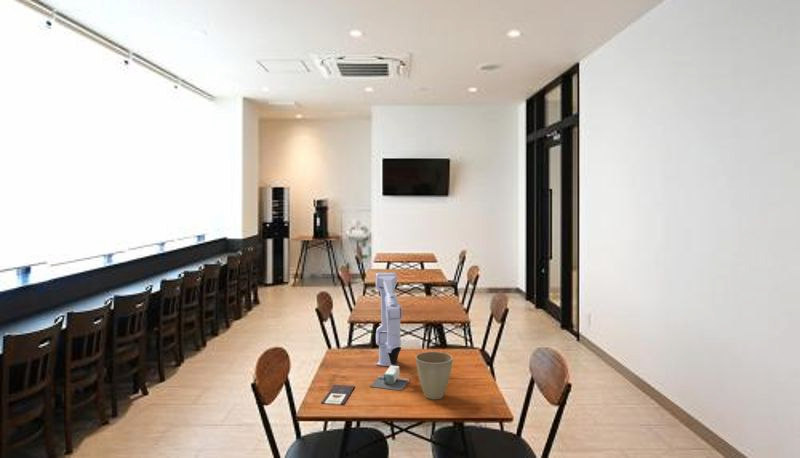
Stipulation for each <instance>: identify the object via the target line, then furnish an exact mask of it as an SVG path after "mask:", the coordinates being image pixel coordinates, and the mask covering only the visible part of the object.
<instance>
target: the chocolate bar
mask: <svg viewBox="0 0 800 458" xmlns="http://www.w3.org/2000/svg"><path fill="white" fill-rule="evenodd" d="M355 387H356V386H355V385H344V384H343V385H341V384H340V385H339V384H333V385H332V386H331V388H330V390H329V391H328V393H327V394H326V395H325V396H324V398H323V399H322V401H321V404H322V405H323V404H324V405H338V406H344V405H345V404H346V402H347V401H348V399H349V397H350V396H351V394H352V393H353V391H354V389H355Z"/></svg>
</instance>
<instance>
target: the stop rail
mask: <svg viewBox="0 0 800 458" xmlns="http://www.w3.org/2000/svg"><path fill="white" fill-rule="evenodd" d="M377 379H383V380H384V375H378V376H377ZM377 379H376V380H377ZM396 381H400V382H408V383H409V382H410V379H409V378H401V377H398V378H397V379H396Z"/></svg>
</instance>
